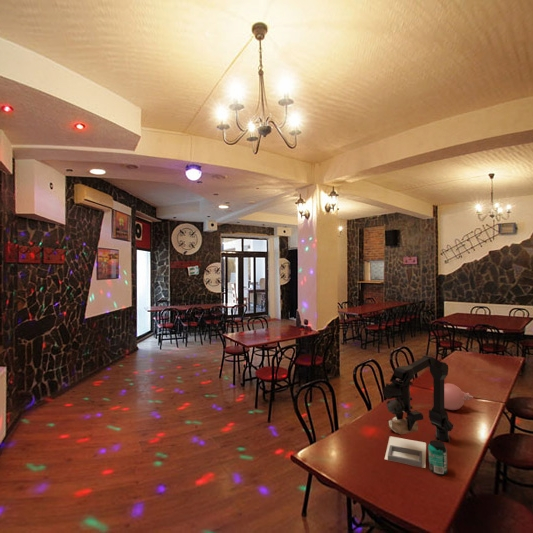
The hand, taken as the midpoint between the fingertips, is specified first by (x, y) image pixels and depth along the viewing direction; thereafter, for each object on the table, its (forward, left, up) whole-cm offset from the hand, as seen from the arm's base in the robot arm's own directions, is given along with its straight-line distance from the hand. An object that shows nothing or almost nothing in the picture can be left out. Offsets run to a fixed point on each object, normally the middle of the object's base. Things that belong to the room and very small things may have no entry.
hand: (404, 427), depth 157 cm
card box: (0, 0, -1) cm, 1 cm away
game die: (-19, -6, -12) cm, 23 cm away
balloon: (-62, +24, -12) cm, 68 cm away
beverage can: (+11, +14, -12) cm, 21 cm away
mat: (-1, 0, -12) cm, 12 cm away
